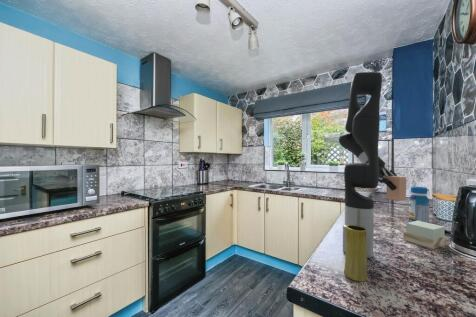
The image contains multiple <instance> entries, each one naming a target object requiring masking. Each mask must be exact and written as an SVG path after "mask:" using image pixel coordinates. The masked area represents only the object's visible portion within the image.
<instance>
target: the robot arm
mask: <svg viewBox="0 0 476 317" xmlns="http://www.w3.org/2000/svg"><path fill="white" fill-rule="evenodd" d="M382 76H383V75H382V73H381V72H379V71H369V72H368V71H364V72H362V71H361V72H355V74H354V75H353V77H352V80H351V83H350V89H349V90H350V92H349V100H348V102H349V103H348V112H347V118H346V123H345V125H344V126H345V131H346V132H347V133H343V134H342V135H340V136H339V138H338V142H339V144H340V146H341V147H342V148H343V149H344V150H346V151H348V152H349V153H352V154H353V155H354V156H356V158H357V159H358V160H359V162H349V163H348V162H347V163H346V164H345V167H344V172H343V180H344V181H343V182H344V225H343V226H342V251H343V252H344V253H346V226H347V225H357V226H361V227H364V228H365V229H366V247H367V259H371V258H373V257H374V226H375V224H374V220H375V219H374V218H375V216H374V215H375V202H374V200H373V199H372V198H371V197H368V196H365V195H363V194H361V193H359V192H358V191H357V190H356V188H357V189H368V190H369V189H371V190H375V189H376V188H377V187H378V186H379V183H381V184H384V185H386V187H387V186H388V187H389V188H390V189H391V190H395V189H396V188H397V187H396V186H395V185H394V184H393V183H392V182H391V181H390V180H389V178H388V177H387V176H398V175H397V173H396V172H395V171H394V170H393V169H390V170H389V169H388V168H386V167H385V165H386V162H385V161H384V160H383V159H382V158H381V157H380V156H379V141H380V140H379V139H380V138H379V137H380V123H381V122H380V121H381V120H380V118H381V117H380V107H381V105H380V104H381V103H380V101H381V95H382V94H381V93H382V85H383V77H382ZM358 95H360V96H368V95H369V96H370V97H369V99H368V100H367V101H366V103H365V104H364V105H363V106H362V107H361V106H360V105H359V102H358Z"/></svg>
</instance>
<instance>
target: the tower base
mask: <svg viewBox="0 0 476 317" xmlns="http://www.w3.org/2000/svg"><path fill="white" fill-rule="evenodd" d="M402 238H403V241H406V242H409V243H412V244H415V245H418V246H422V247H425V248H428V249H431V250H434V249H437V248H440V247H445V246H446V245H447V236H446V235H444V237H441V238H438V239H434V240H432V239H428V238H425V237H421V236H418V235H414V234H411V233H407V232H406V230H405V231H403V236H402Z"/></svg>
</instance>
